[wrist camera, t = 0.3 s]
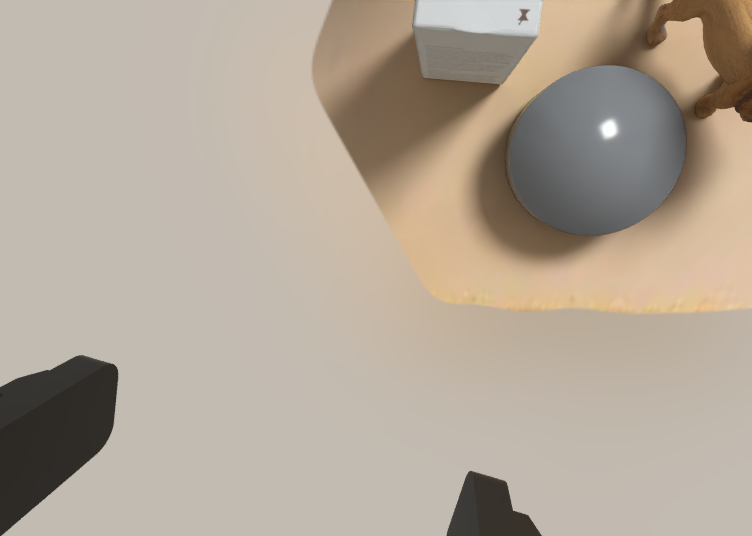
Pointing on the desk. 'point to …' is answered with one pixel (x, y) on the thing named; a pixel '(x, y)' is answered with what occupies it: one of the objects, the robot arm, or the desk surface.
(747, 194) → the desk surface
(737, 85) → the lion figurine
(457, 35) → the skincare box
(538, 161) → the grey rounded flat disc
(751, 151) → the desk surface
